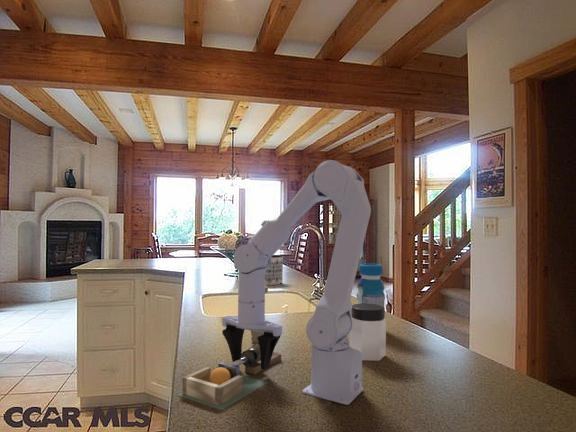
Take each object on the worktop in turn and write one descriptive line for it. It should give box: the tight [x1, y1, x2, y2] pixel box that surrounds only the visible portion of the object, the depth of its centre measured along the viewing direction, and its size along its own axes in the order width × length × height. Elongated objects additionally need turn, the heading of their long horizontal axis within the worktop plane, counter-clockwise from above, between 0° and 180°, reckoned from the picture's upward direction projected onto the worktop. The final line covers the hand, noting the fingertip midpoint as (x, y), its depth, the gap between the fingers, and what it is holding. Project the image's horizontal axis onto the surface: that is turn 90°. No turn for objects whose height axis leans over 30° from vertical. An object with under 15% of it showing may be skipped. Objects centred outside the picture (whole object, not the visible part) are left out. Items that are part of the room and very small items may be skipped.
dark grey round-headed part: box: [217, 345, 261, 379], centre depth 83 cm, size 11×5×5 cm, turn 149°
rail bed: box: [244, 351, 282, 375], centre depth 89 cm, size 3×10×2 cm, turn 149°
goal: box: [181, 366, 242, 405], centre depth 74 cm, size 9×6×3 cm
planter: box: [265, 254, 284, 286], centre depth 209 cm, size 16×16×14 cm
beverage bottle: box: [356, 263, 386, 308], centre depth 120 cm, size 8×8×20 cm
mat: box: [176, 374, 268, 411], centre depth 76 cm, size 11×14×1 cm
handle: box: [250, 285, 269, 344], centre depth 107 cm, size 5×6×15 cm
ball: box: [210, 367, 231, 385], centre depth 76 cm, size 4×4×4 cm
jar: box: [348, 303, 387, 362], centre depth 97 cm, size 9×8×12 cm
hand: (250, 364), depth 85 cm, fingers open, 7 cm apart
